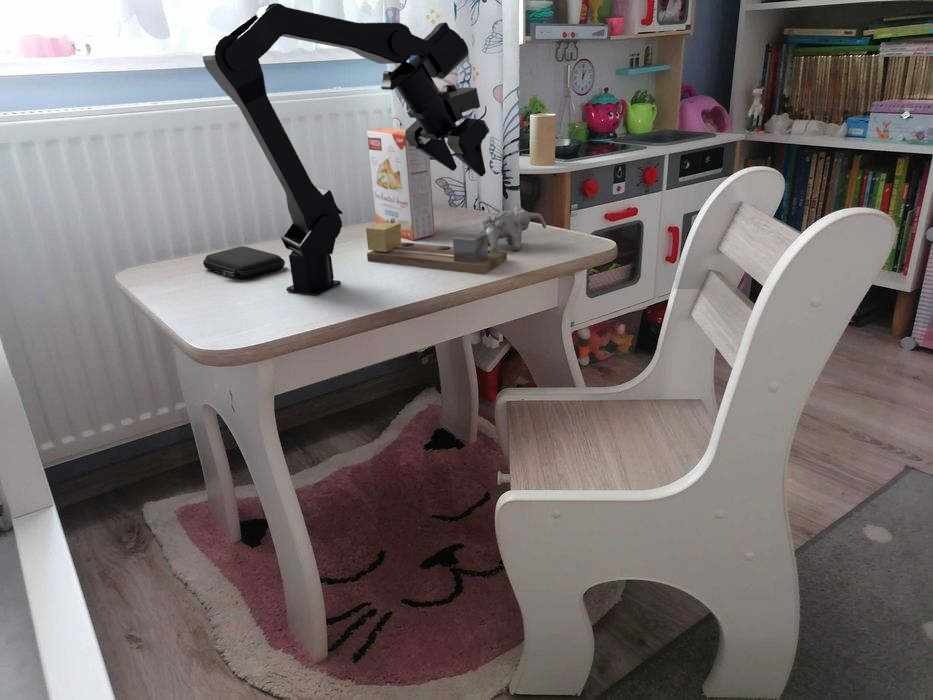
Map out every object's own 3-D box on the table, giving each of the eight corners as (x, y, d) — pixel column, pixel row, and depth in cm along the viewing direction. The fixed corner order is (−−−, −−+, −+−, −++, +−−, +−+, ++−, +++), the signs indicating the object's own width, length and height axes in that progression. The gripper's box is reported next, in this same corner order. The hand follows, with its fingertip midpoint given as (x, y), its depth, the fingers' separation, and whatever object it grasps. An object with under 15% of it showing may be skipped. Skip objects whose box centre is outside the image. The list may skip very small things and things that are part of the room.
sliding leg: (386, 252, 125) (384, 229, 124) (368, 250, 127) (366, 228, 125) (408, 242, 131) (406, 220, 130) (390, 240, 133) (389, 219, 131)
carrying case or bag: (194, 272, 127) (238, 286, 118) (191, 256, 126) (235, 269, 116) (245, 258, 134) (290, 270, 125) (243, 243, 133) (288, 254, 124)
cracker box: (375, 230, 149) (365, 129, 141) (398, 225, 153) (390, 126, 145) (411, 241, 139) (403, 133, 131) (435, 236, 143) (429, 130, 134)
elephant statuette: (474, 248, 134) (471, 209, 130) (526, 235, 139) (524, 197, 135) (499, 259, 126) (496, 218, 123) (553, 245, 131) (552, 205, 128)
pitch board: (484, 274, 117) (483, 242, 114) (367, 261, 127) (364, 231, 125) (506, 260, 124) (506, 229, 122) (394, 248, 135) (392, 220, 132)
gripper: (488, 65, 108) (531, 146, 117) (427, 66, 123) (470, 139, 132) (439, 111, 106) (487, 190, 115) (383, 106, 120) (430, 177, 130)
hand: (468, 171), depth 123 cm, fingers open, 9 cm apart
